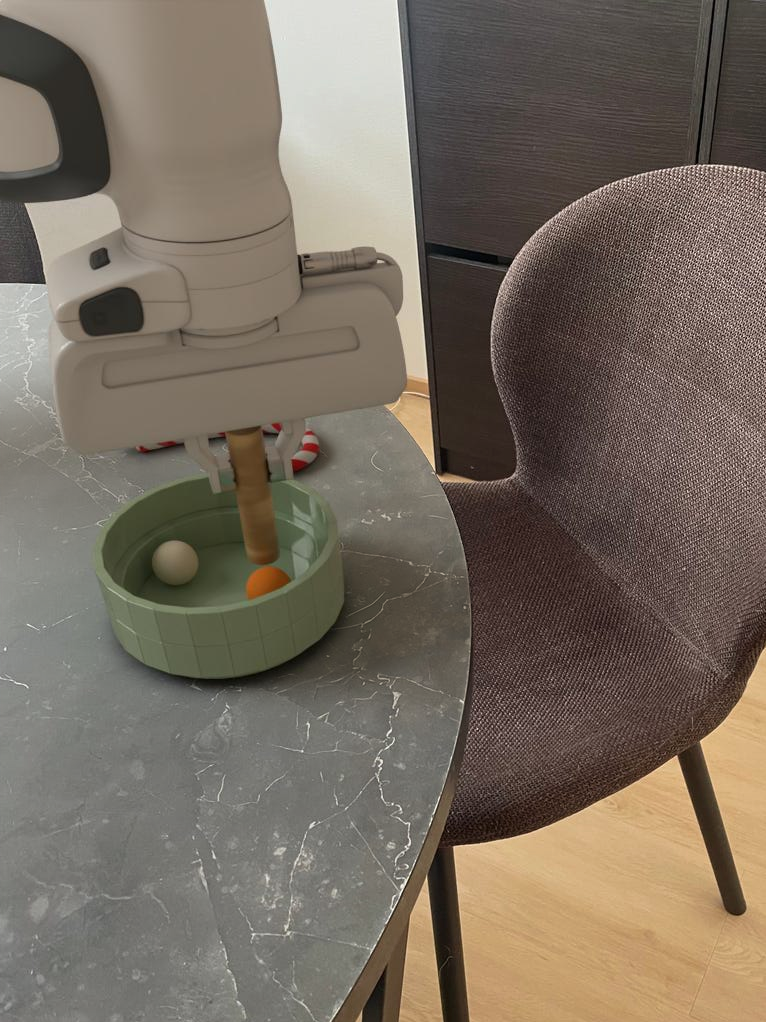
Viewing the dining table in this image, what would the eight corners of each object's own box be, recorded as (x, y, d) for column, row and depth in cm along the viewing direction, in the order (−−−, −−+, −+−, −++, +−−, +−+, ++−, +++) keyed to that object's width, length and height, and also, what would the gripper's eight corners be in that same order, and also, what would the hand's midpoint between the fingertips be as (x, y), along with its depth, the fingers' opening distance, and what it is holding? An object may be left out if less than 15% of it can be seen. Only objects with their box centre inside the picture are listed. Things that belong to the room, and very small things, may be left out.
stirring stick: (250, 568, 69) (227, 438, 62) (244, 548, 70) (221, 419, 63) (283, 561, 69) (264, 432, 62) (276, 542, 71) (257, 413, 64)
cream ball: (208, 584, 71) (167, 597, 71) (202, 546, 72) (161, 559, 72) (189, 566, 68) (146, 580, 68) (183, 527, 69) (141, 541, 69)
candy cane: (140, 416, 86) (321, 413, 87) (143, 430, 87) (323, 426, 88) (120, 467, 81) (314, 463, 81) (124, 481, 81) (316, 477, 82)
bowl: (127, 712, 63) (104, 637, 59) (105, 566, 73) (83, 495, 69) (371, 654, 67) (364, 580, 63) (316, 523, 77) (307, 454, 73)
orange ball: (236, 566, 68) (280, 551, 68) (255, 595, 70) (297, 580, 70) (240, 598, 66) (285, 583, 66) (259, 627, 68) (302, 612, 68)
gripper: (385, 222, 61) (396, 429, 70) (17, 267, 56) (81, 485, 65) (417, 263, 57) (424, 478, 66) (21, 316, 51) (89, 542, 61)
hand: (251, 482), depth 65 cm, fingers closed on stirring stick, 2 cm apart
